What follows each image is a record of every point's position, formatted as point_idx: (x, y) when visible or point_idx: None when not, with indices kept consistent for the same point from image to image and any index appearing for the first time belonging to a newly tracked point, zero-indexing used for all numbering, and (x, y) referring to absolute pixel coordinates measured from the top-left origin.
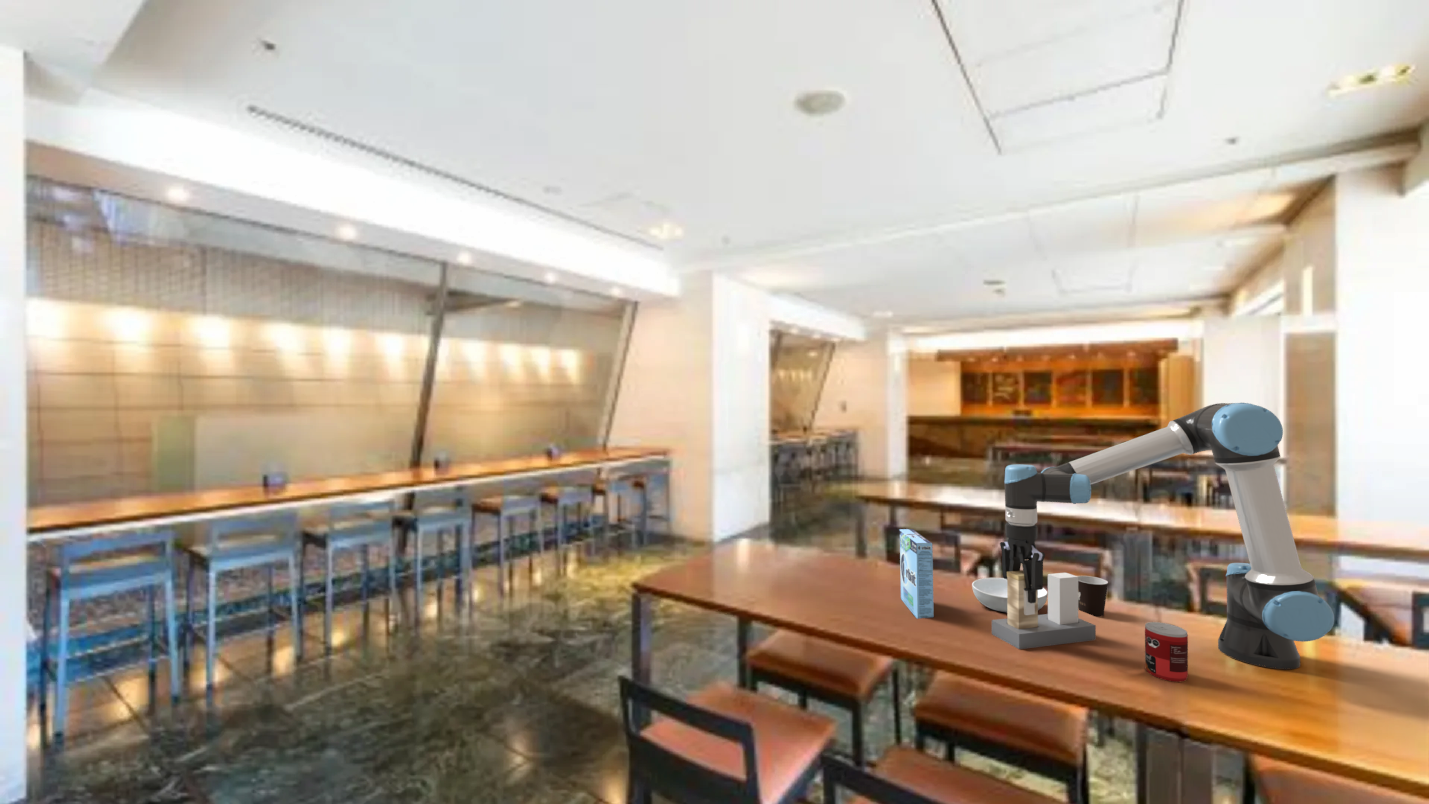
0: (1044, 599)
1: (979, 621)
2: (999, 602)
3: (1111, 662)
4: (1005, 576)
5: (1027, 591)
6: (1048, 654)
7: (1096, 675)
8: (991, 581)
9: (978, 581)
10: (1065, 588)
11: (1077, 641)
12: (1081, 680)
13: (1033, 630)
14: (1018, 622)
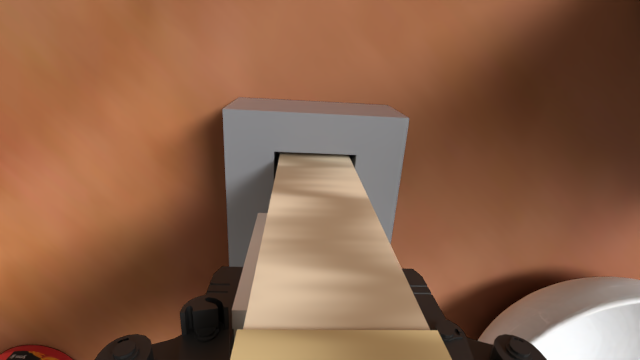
0: None
1: (526, 182)
2: (548, 304)
3: (127, 316)
4: (505, 355)
5: (235, 317)
6: (213, 193)
7: (42, 211)
8: None
9: None
10: None
11: None
12: (5, 136)
13: (245, 203)
14: (278, 166)
